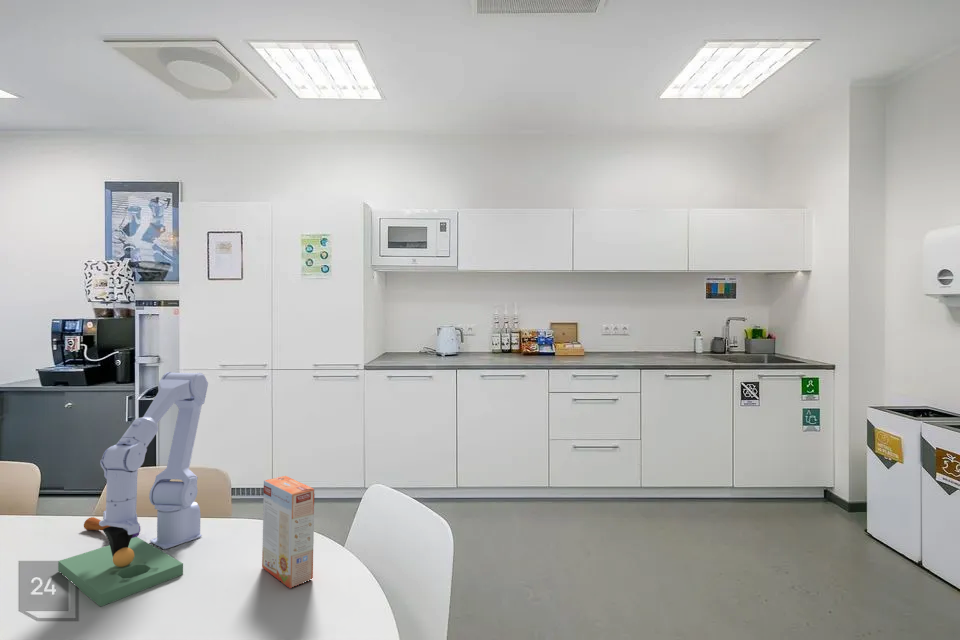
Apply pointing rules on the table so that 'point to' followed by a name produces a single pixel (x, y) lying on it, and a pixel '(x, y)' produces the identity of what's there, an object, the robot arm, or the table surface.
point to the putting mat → (119, 571)
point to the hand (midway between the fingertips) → (119, 557)
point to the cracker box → (288, 530)
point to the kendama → (94, 525)
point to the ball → (123, 557)
